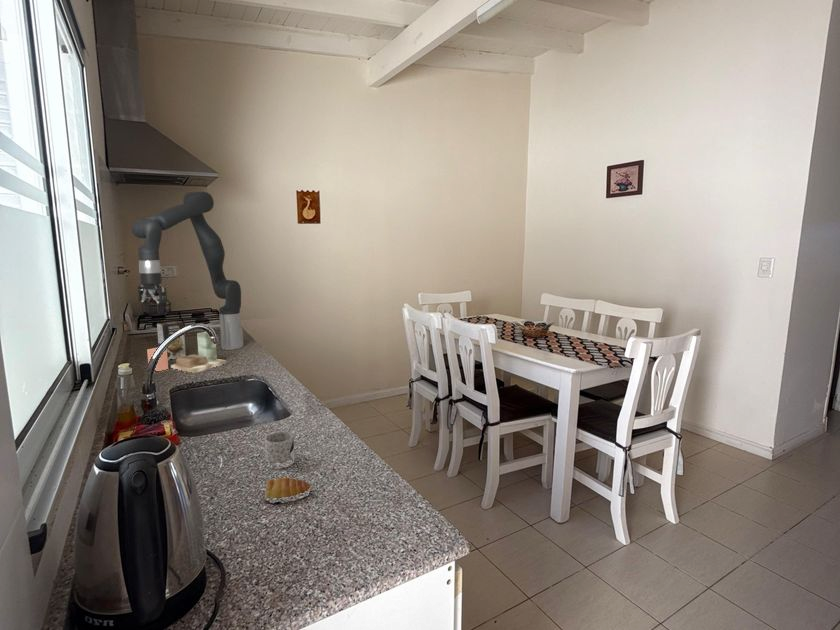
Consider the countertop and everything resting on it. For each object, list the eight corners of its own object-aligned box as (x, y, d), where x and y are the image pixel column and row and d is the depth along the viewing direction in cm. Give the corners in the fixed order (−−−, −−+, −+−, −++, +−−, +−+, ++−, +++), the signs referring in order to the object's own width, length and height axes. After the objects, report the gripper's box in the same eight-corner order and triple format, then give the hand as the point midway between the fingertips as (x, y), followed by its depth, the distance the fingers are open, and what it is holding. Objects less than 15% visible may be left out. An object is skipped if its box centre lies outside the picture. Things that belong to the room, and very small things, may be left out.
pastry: (311, 486, 106) (310, 470, 106) (310, 502, 100) (310, 486, 99) (267, 490, 104) (266, 474, 104) (263, 507, 98) (262, 490, 97)
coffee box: (166, 361, 210) (162, 324, 207) (159, 358, 213) (155, 323, 211) (186, 357, 217) (183, 321, 214) (179, 354, 221) (176, 320, 218)
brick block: (160, 368, 199) (158, 347, 197) (168, 369, 196) (166, 348, 195) (149, 371, 194) (147, 349, 193) (157, 372, 192) (155, 351, 190)
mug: (297, 465, 115) (296, 439, 114) (269, 472, 112) (268, 445, 111) (287, 449, 124) (286, 425, 123) (260, 455, 121) (259, 430, 120)
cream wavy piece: (203, 359, 212) (201, 329, 210) (226, 363, 206) (224, 332, 204) (170, 368, 198) (168, 336, 196) (194, 373, 192) (191, 340, 190)
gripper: (170, 271, 189) (174, 312, 192) (147, 270, 195) (151, 309, 198) (153, 273, 182) (156, 315, 185) (129, 271, 189) (133, 312, 191)
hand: (153, 312), depth 191 cm, fingers open, 8 cm apart
